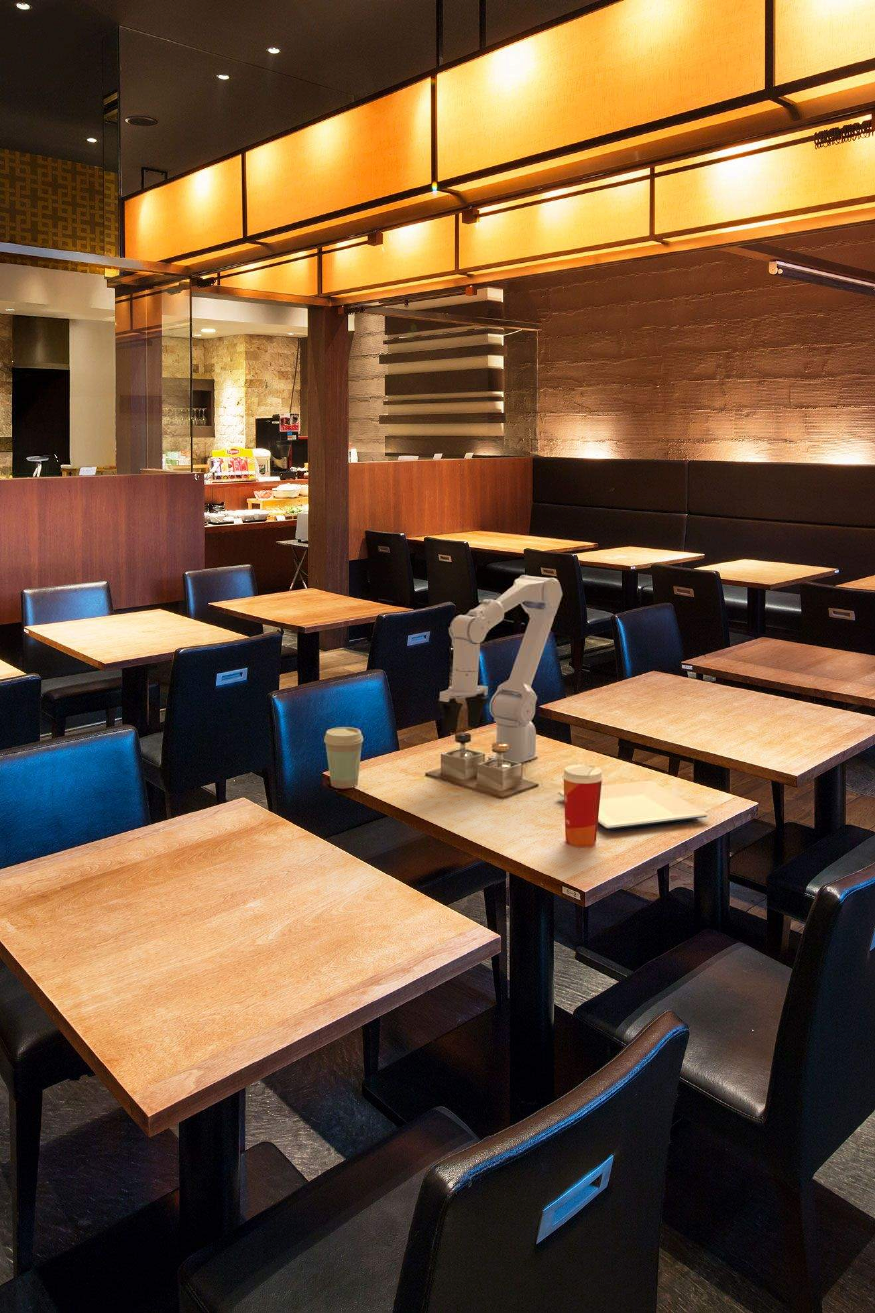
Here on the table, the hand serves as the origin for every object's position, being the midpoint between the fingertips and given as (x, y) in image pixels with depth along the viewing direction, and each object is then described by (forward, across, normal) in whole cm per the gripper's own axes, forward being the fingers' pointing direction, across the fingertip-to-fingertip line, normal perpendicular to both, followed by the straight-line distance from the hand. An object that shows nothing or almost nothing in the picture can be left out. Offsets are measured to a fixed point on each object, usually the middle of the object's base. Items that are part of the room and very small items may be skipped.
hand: (462, 729), depth 226 cm
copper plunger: (+6, 0, +11) cm, 13 cm away
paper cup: (+12, +16, +42) cm, 46 cm away
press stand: (+11, -1, +6) cm, 12 cm away
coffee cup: (+12, +21, -15) cm, 29 cm away
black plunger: (+6, -1, 0) cm, 6 cm away
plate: (+10, -6, +40) cm, 42 cm away
